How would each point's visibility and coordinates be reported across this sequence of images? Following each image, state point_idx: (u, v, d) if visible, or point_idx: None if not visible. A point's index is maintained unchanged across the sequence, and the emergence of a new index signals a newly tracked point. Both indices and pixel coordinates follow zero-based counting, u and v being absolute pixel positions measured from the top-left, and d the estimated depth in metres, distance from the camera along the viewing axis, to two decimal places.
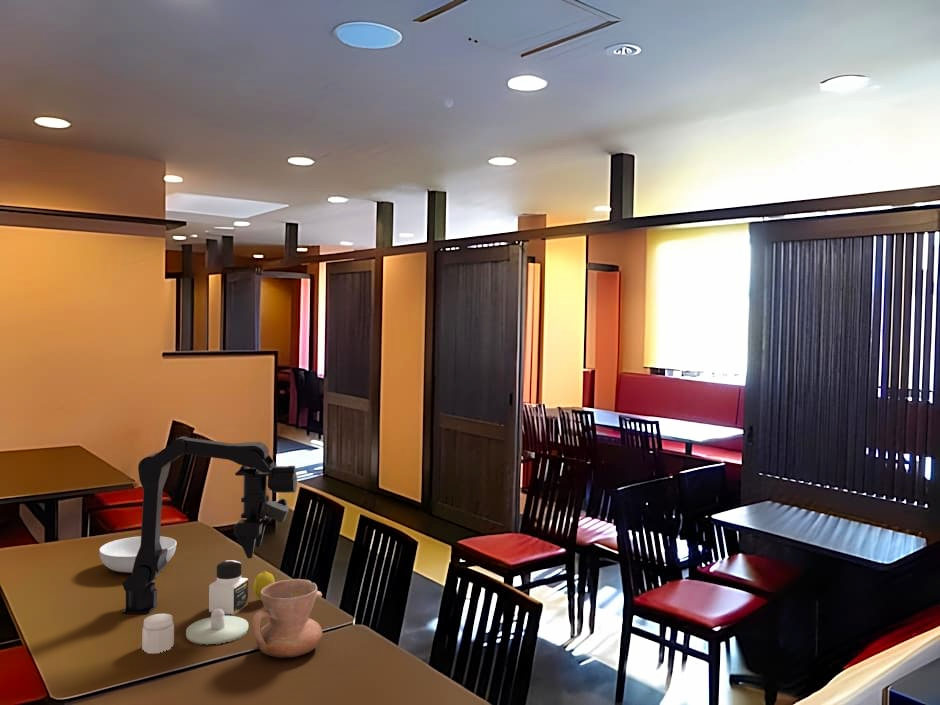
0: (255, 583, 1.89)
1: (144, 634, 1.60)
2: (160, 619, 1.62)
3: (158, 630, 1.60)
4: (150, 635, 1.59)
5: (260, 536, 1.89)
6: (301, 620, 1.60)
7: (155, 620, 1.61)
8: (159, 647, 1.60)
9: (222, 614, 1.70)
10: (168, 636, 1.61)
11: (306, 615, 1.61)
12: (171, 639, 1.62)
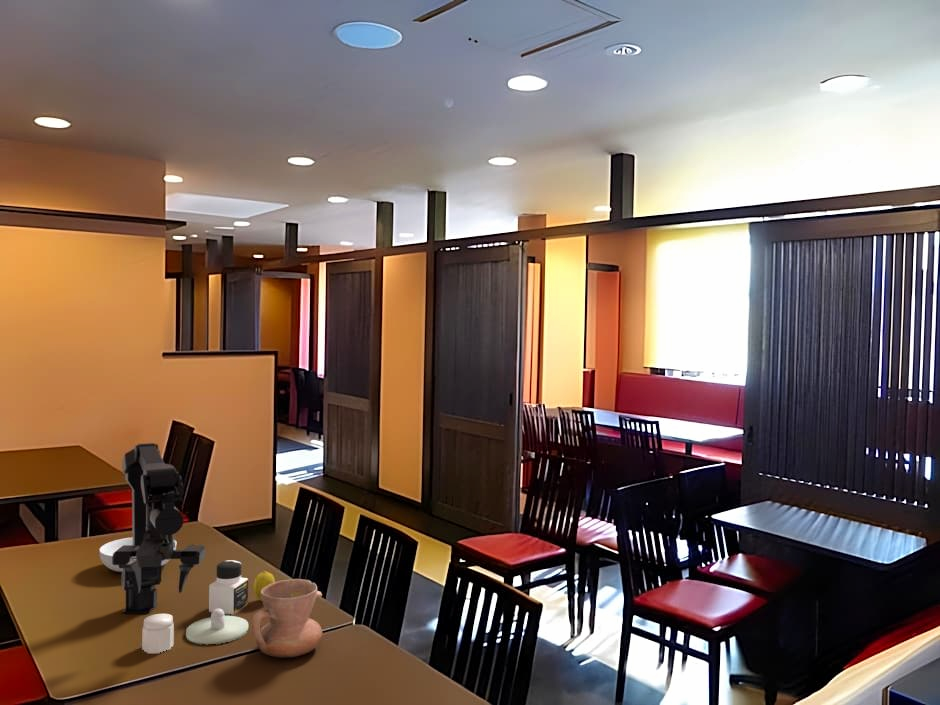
0: (255, 583, 1.89)
1: (144, 634, 1.60)
2: (160, 619, 1.62)
3: (158, 630, 1.60)
4: (150, 635, 1.59)
5: None
6: (301, 620, 1.60)
7: (155, 620, 1.61)
8: (159, 647, 1.60)
9: (222, 614, 1.70)
10: (168, 636, 1.61)
11: (306, 615, 1.61)
12: (171, 639, 1.62)
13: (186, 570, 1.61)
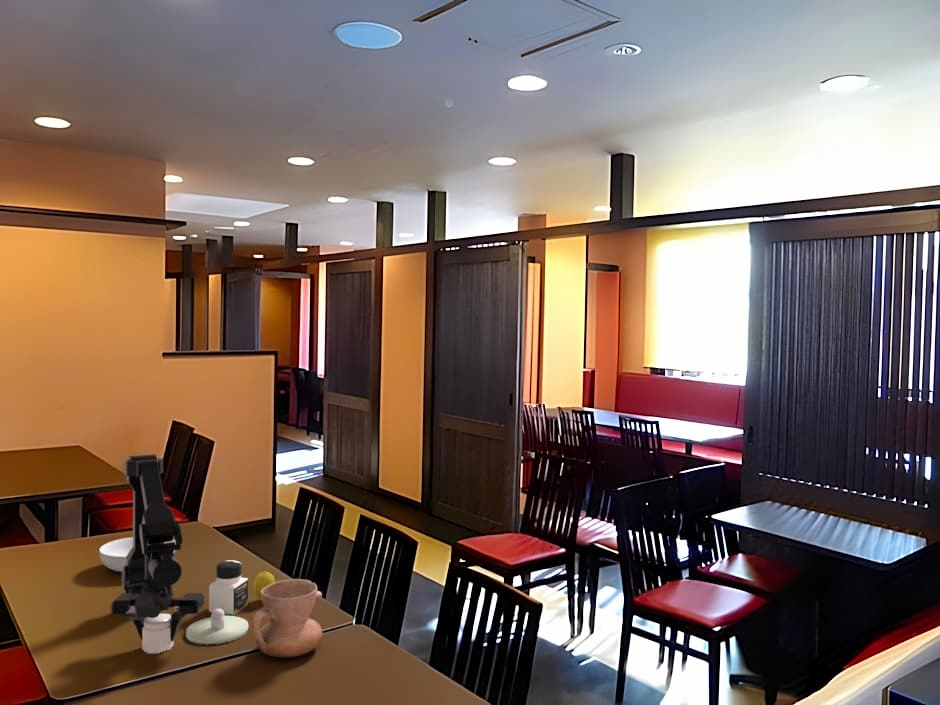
0: (255, 583, 1.89)
1: (144, 634, 1.60)
2: (160, 619, 1.62)
3: (158, 630, 1.60)
4: (150, 635, 1.59)
5: None
6: (301, 620, 1.60)
7: (155, 621, 1.61)
8: (159, 647, 1.60)
9: (222, 614, 1.70)
10: (168, 636, 1.61)
11: (306, 615, 1.61)
12: None
13: (178, 619, 1.61)
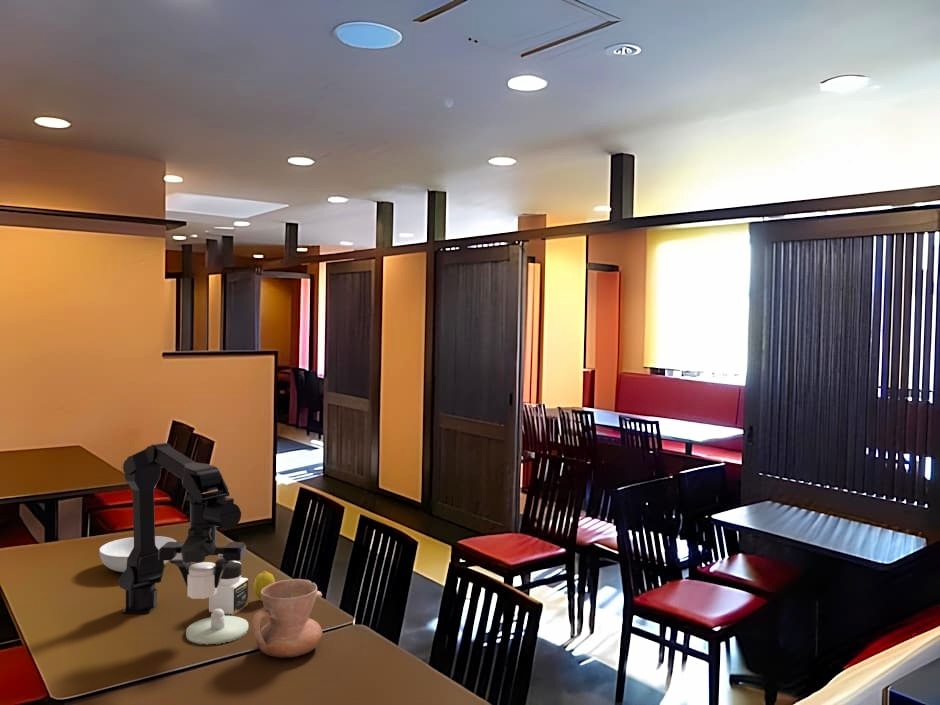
0: (255, 583, 1.89)
1: (189, 580, 1.66)
2: (204, 566, 1.68)
3: (203, 576, 1.65)
4: (195, 581, 1.65)
5: None
6: (301, 620, 1.60)
7: (200, 568, 1.67)
8: (204, 593, 1.65)
9: (222, 614, 1.70)
10: (212, 583, 1.67)
11: (306, 615, 1.61)
12: None
13: (222, 566, 1.66)
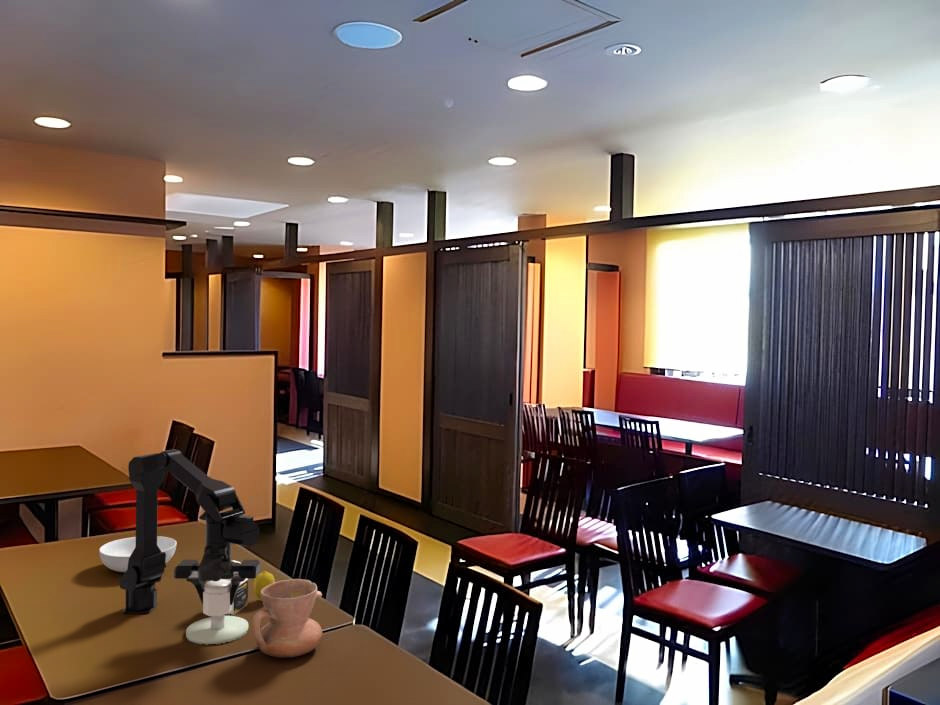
0: (255, 583, 1.89)
1: (205, 598, 1.69)
2: (220, 584, 1.71)
3: (219, 594, 1.68)
4: (211, 598, 1.68)
5: None
6: (301, 620, 1.60)
7: (215, 585, 1.70)
8: (220, 610, 1.68)
9: None
10: (227, 600, 1.70)
11: (306, 615, 1.61)
12: None
13: (237, 583, 1.69)
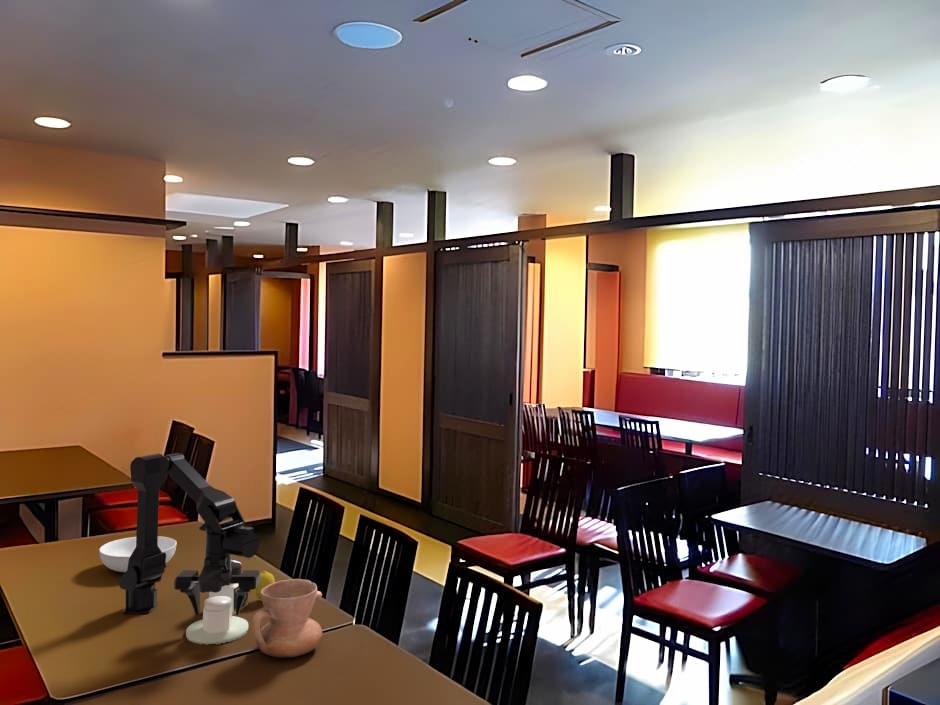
0: None
1: (205, 615, 1.69)
2: (220, 600, 1.71)
3: (219, 611, 1.68)
4: (211, 616, 1.68)
5: None
6: (301, 620, 1.60)
7: (215, 602, 1.70)
8: (219, 627, 1.68)
9: None
10: (227, 617, 1.70)
11: (306, 615, 1.61)
12: (230, 620, 1.71)
13: (243, 594, 1.69)
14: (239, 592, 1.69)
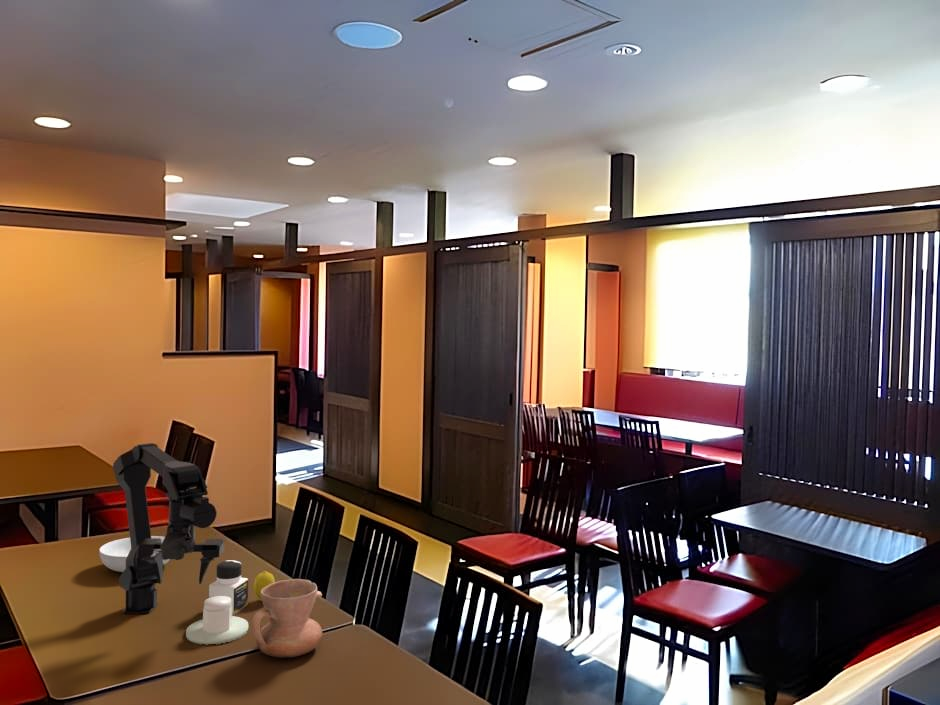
0: (255, 583, 1.89)
1: (205, 615, 1.69)
2: (220, 600, 1.71)
3: (219, 611, 1.68)
4: (211, 616, 1.68)
5: (200, 573, 1.70)
6: (301, 620, 1.60)
7: (215, 602, 1.70)
8: (219, 627, 1.68)
9: None
10: (227, 617, 1.70)
11: (306, 615, 1.61)
12: (230, 620, 1.71)
13: (206, 563, 1.69)
14: (202, 560, 1.68)
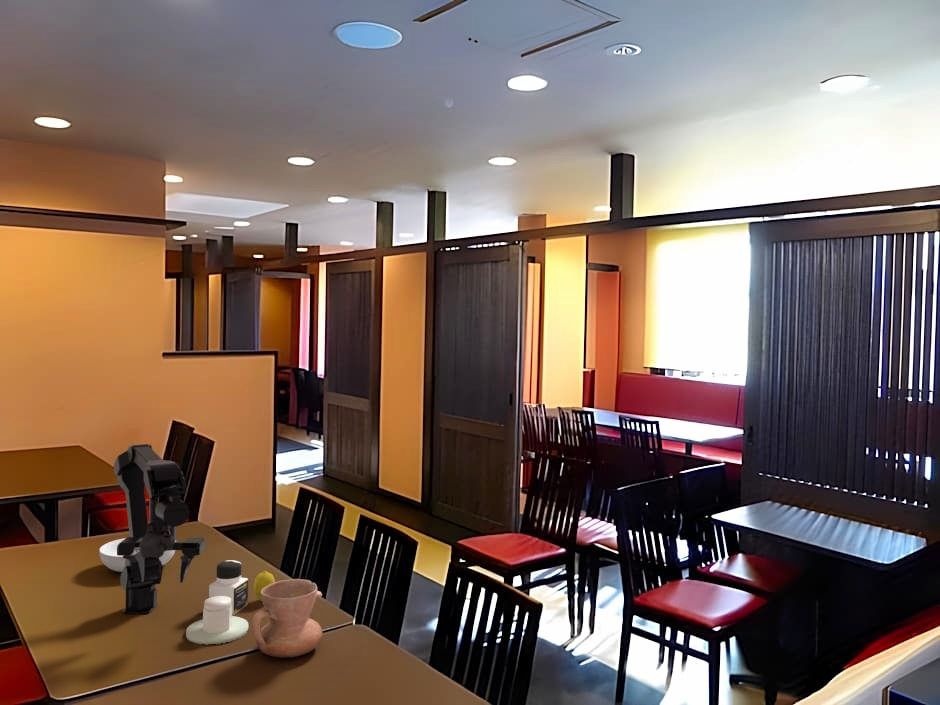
0: (255, 583, 1.89)
1: (205, 615, 1.69)
2: (220, 600, 1.71)
3: (219, 611, 1.68)
4: (211, 616, 1.68)
5: (181, 571, 1.69)
6: (301, 620, 1.60)
7: (215, 602, 1.70)
8: (219, 627, 1.68)
9: None
10: (227, 617, 1.70)
11: (306, 615, 1.61)
12: (230, 620, 1.71)
13: (187, 561, 1.68)
14: (182, 558, 1.67)
